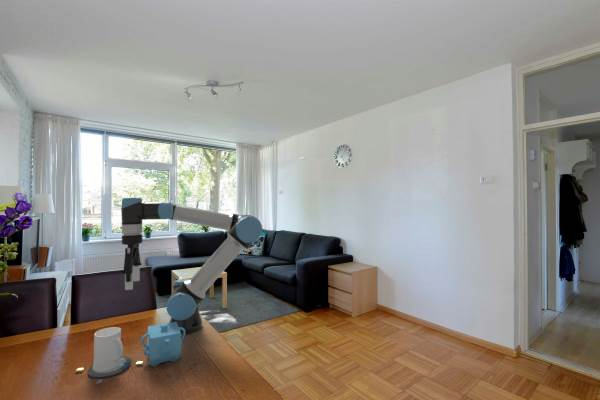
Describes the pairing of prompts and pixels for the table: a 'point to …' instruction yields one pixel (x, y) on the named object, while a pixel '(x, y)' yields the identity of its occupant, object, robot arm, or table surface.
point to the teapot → (163, 343)
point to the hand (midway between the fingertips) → (132, 285)
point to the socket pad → (109, 373)
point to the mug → (107, 349)
